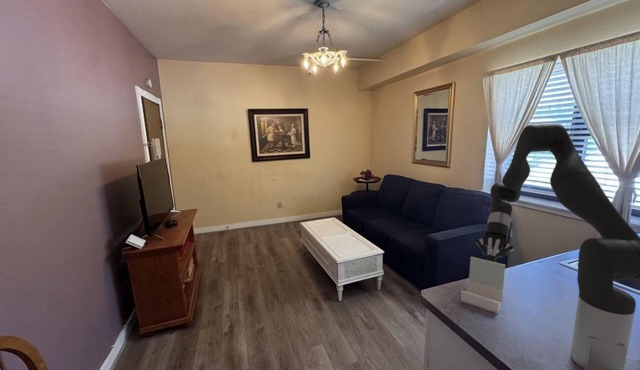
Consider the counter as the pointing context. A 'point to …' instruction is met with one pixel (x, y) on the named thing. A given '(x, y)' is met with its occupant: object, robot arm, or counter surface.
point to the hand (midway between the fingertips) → (489, 265)
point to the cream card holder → (482, 297)
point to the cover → (487, 273)
